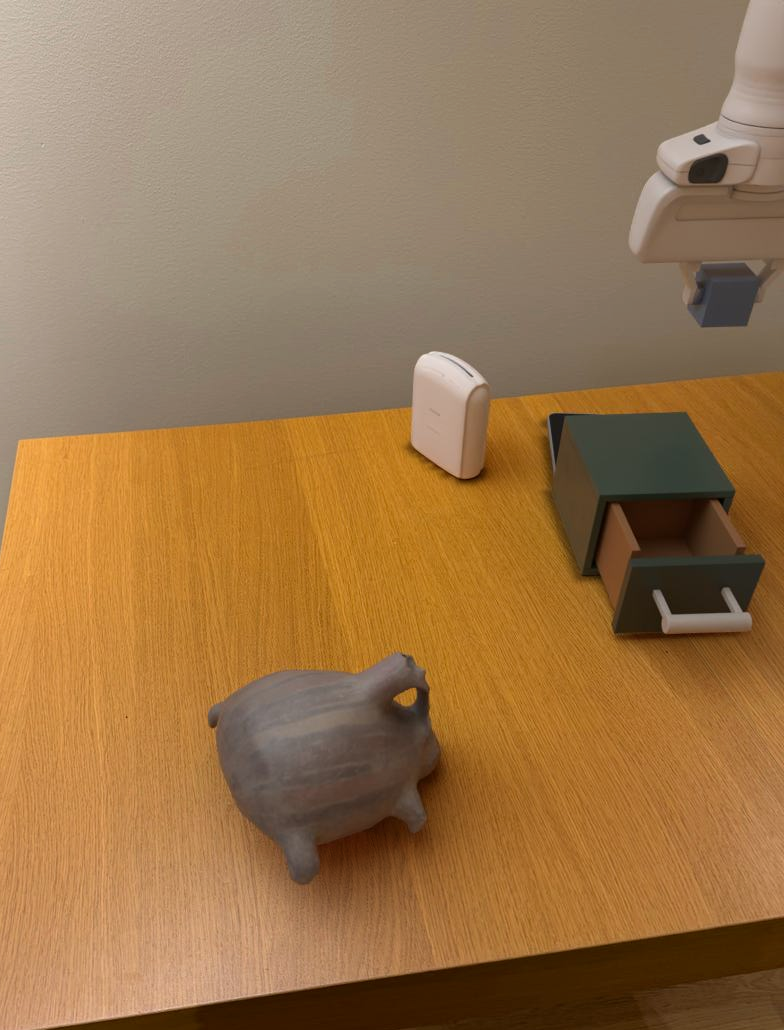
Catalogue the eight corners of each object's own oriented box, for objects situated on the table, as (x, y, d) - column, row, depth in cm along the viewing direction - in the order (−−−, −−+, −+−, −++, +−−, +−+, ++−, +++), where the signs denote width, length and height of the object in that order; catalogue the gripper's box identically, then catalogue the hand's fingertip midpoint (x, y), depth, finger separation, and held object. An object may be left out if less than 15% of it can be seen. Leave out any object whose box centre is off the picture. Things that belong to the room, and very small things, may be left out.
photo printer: (404, 445, 110) (409, 348, 102) (433, 434, 112) (440, 338, 103) (459, 485, 104) (468, 384, 95) (488, 473, 105) (500, 373, 97)
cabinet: (708, 571, 91) (736, 490, 85) (581, 575, 91) (599, 495, 85) (664, 489, 102) (686, 411, 95) (550, 493, 102) (564, 415, 96)
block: (731, 307, 95) (744, 262, 92) (747, 326, 92) (761, 280, 88) (686, 308, 95) (698, 263, 92) (700, 327, 92) (713, 282, 89)
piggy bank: (409, 678, 80) (462, 631, 67) (441, 866, 76) (505, 856, 62) (202, 699, 76) (215, 653, 63) (225, 897, 72) (243, 893, 59)
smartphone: (555, 481, 102) (546, 412, 113) (554, 488, 103) (545, 418, 113) (624, 484, 101) (609, 414, 112) (622, 491, 102) (607, 420, 113)
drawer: (760, 668, 80) (789, 600, 75) (629, 672, 80) (649, 605, 75) (691, 540, 94) (712, 475, 88) (579, 544, 94) (593, 479, 88)
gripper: (864, 137, 85) (812, 286, 94) (641, 145, 85) (612, 292, 95) (896, 157, 80) (838, 312, 90) (660, 165, 81) (627, 318, 90)
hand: (720, 302), depth 92 cm, fingers closed on block, 4 cm apart
